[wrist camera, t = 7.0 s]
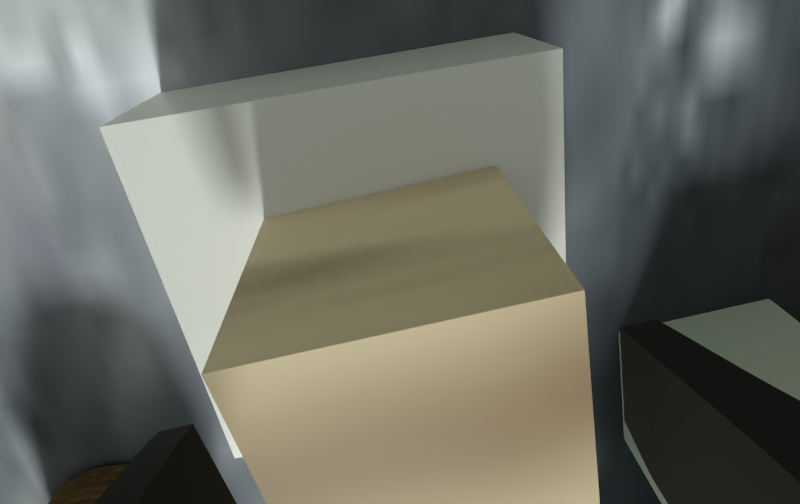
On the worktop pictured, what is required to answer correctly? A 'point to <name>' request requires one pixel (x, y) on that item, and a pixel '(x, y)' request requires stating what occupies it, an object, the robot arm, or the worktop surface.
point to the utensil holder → (88, 485)
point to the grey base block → (330, 153)
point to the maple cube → (410, 354)
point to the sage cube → (742, 349)
